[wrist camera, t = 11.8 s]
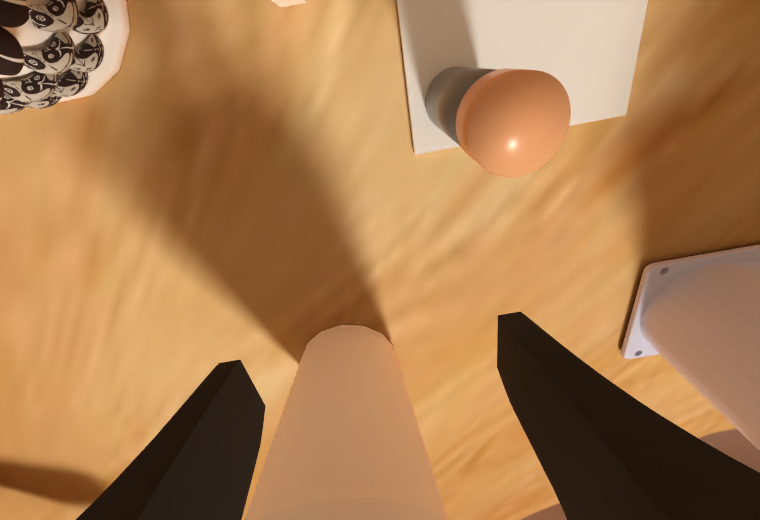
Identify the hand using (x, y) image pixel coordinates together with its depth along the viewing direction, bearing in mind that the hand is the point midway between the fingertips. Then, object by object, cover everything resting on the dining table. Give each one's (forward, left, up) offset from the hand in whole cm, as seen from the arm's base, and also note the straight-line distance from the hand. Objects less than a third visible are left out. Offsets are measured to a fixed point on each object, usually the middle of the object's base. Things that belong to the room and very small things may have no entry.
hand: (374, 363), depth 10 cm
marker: (-5, -5, -10) cm, 12 cm away
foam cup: (+3, +10, -10) cm, 15 cm away
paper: (-8, -7, -10) cm, 15 cm away
